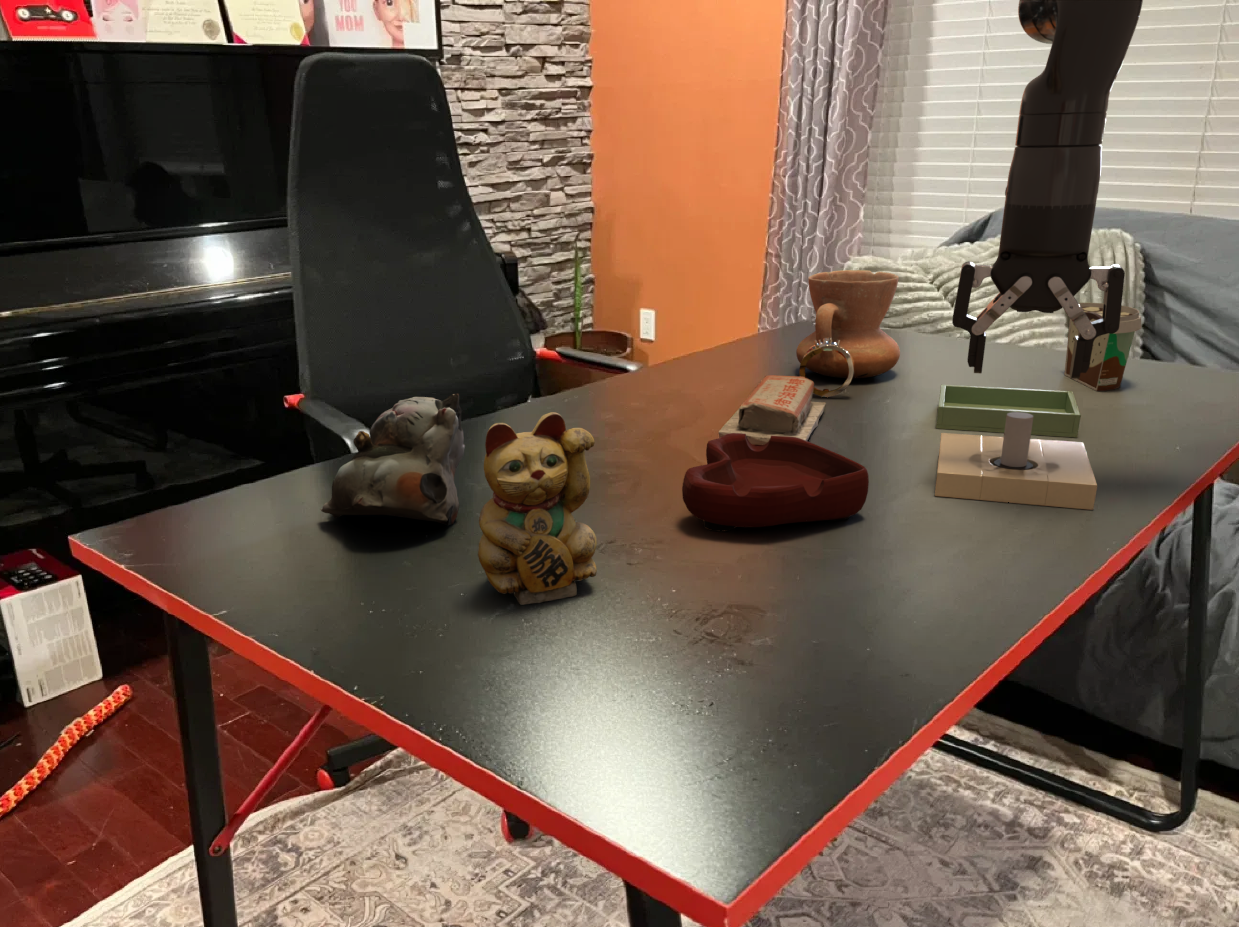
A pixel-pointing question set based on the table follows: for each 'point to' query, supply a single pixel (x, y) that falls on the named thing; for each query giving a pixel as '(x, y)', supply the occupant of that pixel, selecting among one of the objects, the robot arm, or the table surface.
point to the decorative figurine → (536, 511)
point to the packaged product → (777, 410)
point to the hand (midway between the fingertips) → (1025, 374)
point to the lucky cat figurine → (404, 464)
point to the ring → (828, 346)
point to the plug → (1016, 442)
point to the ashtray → (772, 483)
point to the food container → (1105, 349)
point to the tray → (1007, 409)
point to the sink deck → (1015, 472)
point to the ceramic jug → (851, 322)
